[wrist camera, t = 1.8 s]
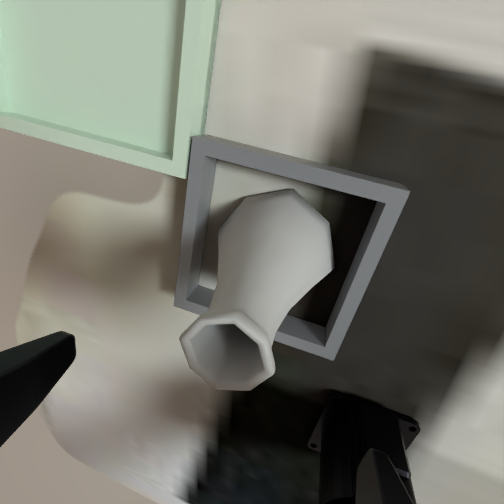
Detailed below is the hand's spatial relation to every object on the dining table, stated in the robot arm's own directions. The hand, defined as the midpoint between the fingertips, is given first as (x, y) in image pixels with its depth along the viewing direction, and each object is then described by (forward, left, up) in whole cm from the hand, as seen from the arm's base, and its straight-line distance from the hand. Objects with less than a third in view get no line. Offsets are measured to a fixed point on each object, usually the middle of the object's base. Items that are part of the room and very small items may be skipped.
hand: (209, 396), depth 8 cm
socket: (0, 0, -11) cm, 11 cm away
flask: (0, 0, -12) cm, 12 cm away
